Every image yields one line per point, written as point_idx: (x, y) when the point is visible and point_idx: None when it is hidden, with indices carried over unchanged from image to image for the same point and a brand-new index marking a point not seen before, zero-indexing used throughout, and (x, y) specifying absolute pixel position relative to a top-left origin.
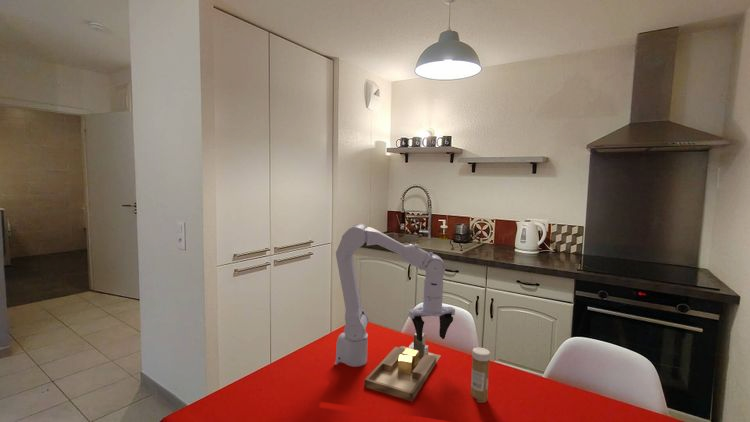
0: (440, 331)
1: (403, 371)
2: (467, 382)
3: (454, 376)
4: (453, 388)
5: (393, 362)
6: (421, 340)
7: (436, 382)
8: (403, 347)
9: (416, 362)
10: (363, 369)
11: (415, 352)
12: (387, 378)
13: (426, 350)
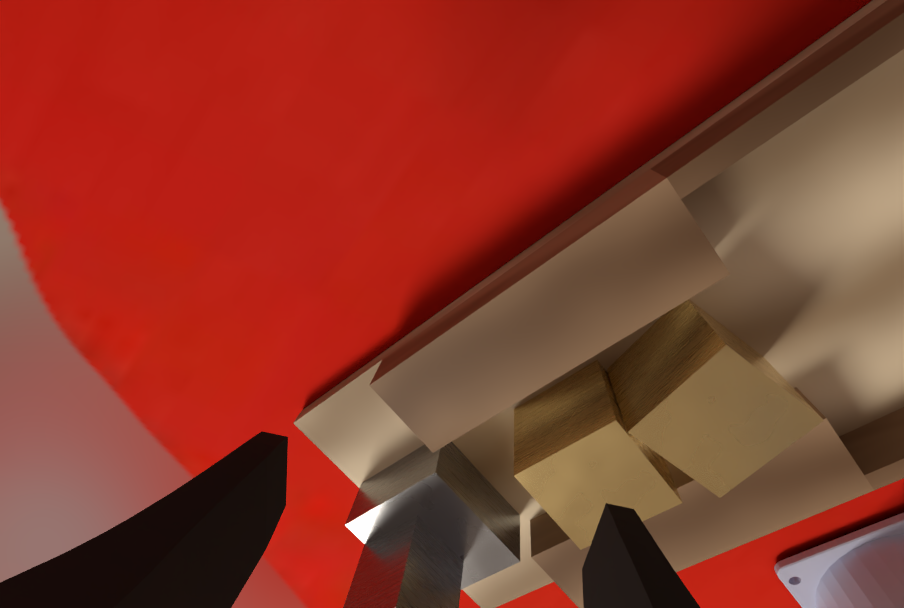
0: (248, 555)
1: (738, 341)
2: (284, 54)
3: (337, 174)
4: (448, 21)
5: None
6: (614, 508)
7: (524, 159)
8: (484, 593)
9: (550, 401)
10: (900, 510)
11: (560, 466)
12: (891, 331)
13: (385, 489)
